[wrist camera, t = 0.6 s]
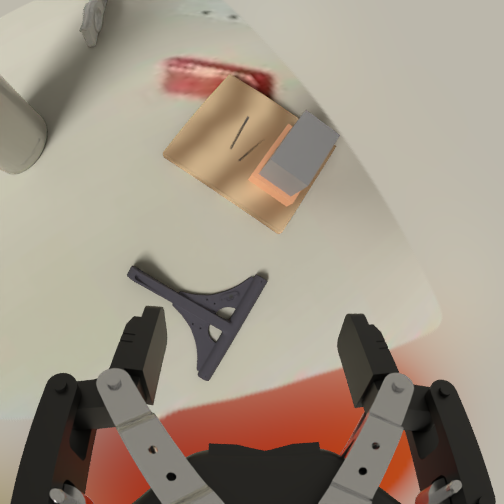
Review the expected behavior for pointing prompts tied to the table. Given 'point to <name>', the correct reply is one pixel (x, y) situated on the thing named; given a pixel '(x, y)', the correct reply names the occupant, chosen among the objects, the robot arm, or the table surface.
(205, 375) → the bracket
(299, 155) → the block
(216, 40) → the table surface
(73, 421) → the robot arm
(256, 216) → the oak board
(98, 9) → the garden wall model
